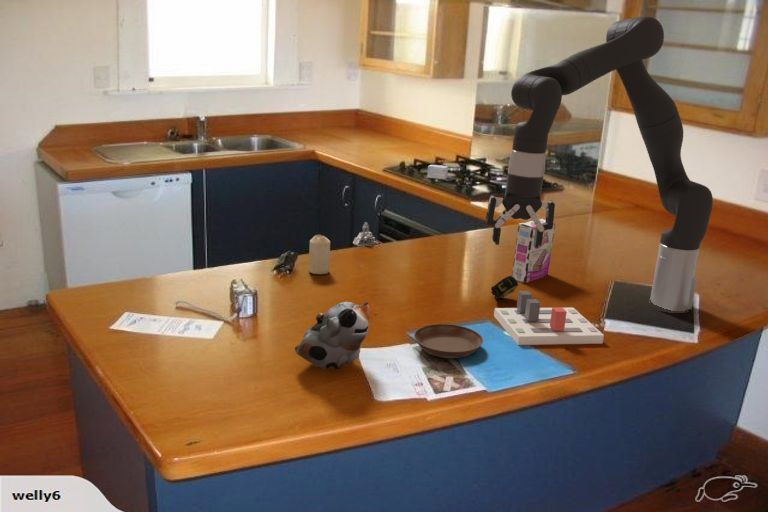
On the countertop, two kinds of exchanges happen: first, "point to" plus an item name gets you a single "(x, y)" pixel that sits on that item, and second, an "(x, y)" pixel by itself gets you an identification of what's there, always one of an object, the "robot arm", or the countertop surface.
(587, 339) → the breaker panel
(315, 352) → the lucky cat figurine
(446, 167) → the medicine box
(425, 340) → the saucer
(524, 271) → the candy bar box
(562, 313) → the block
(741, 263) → the countertop surface
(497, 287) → the tape measure
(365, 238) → the grey stone figurine
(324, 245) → the candle
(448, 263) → the countertop surface
